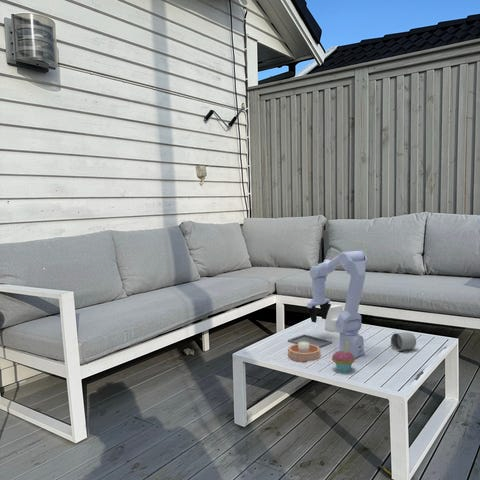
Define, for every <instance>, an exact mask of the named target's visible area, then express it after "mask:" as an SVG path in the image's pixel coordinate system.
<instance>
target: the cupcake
mask: <svg viewBox="0 0 480 480" xmlns="http://www.w3.org/2000/svg"><path fill="white" fill-rule="evenodd" d="M347 348H348V342H347V343H346V350H345V351H339V350H337V351H338V352H337V351H335V352H334V353H333V354H332V357H331V360H332V362H334V363H335V365H336V369H337V371H338V372H342V373H347V372H349V371H351V368H352V365H353V363H355V360H356V358H355V357H354V355H352V354H351V353H350V352H348V351H347Z"/></svg>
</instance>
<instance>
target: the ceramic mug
mask: <svg viewBox="0 0 480 480" xmlns="http://www.w3.org/2000/svg"><path fill="white" fill-rule="evenodd" d="M416 345H417V339H416V336H415V335H414V334H413V333H412V332H409V331H408V332H407V331H406V332H404V331H403V332H395V333H393V334H391V338H390V346H391V347H392V348H393V349H394V350H395V351H396V352H403V351H407V350H413V349H414V348H415V347H416Z"/></svg>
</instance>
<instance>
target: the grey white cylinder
mask: <svg viewBox="0 0 480 480" xmlns="http://www.w3.org/2000/svg"><path fill="white" fill-rule="evenodd" d="M342 311H343V305H342V304H334V305H333V304H332V305H331V307H330V308H329V311H328V314H327V318H326V319H324V320H325V321H324V329H325V331H327V332H330V333H338V331H337V329H336V326H335V323H336V320H337V319H338V316H339V314H340V313H341V312H342Z"/></svg>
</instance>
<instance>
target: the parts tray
mask: <svg viewBox="0 0 480 480" xmlns="http://www.w3.org/2000/svg"><path fill="white" fill-rule="evenodd" d="M301 341H306V342H309V344H313V345H316V346H318V347H319V348H320V349H321V348H324V347H327V346H329V345H331V344H333V340H328V339H325V338H321V337H316V336H313V335H312V336H311V335H310V334H301V335H299V336H296V337H292V338H290V339H287V342H288V343H291V344H293V345H294V344H298V342H301Z"/></svg>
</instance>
